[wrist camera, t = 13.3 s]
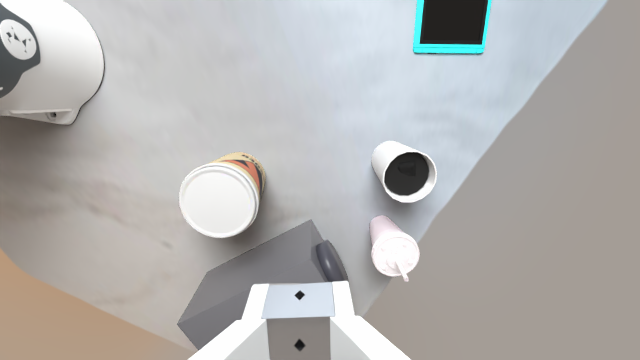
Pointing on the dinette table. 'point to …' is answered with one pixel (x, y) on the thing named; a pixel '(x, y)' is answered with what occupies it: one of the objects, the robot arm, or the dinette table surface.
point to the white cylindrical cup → (404, 171)
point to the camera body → (258, 279)
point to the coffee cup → (223, 195)
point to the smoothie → (392, 248)
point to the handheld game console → (451, 26)
